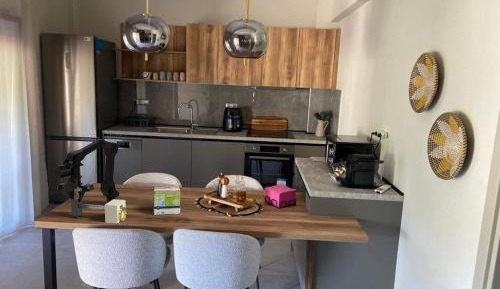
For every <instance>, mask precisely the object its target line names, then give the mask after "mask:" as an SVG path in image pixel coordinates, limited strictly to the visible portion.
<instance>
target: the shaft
mask: <svg viewBox="0 0 500 289" xmlns="http://www.w3.org/2000/svg"><path fill="white" fill-rule="evenodd" d="M70 207H71V217H78V218H79V217H81V216H82V215H83V209H85V210H86V209H87V210H101V211H105V205H102V204H101V205H100V204H88V203H87V204H84V203H83V200H82V201H81V202H79V196H74V198H72V199H70Z"/></svg>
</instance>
